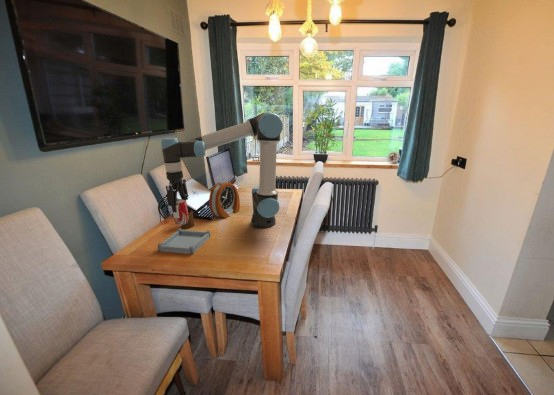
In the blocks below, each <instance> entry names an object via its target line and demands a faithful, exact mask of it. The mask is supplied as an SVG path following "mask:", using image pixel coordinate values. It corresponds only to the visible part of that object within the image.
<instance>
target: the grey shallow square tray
mask: <svg viewBox="0 0 554 395" xmlns="http://www.w3.org/2000/svg"><path fill="white" fill-rule="evenodd" d="M210 238H211V231H210V230H206V231H202V230H188V229H187V230H186V229H182V228H178V229H177V231H175V233H173V234H172V235H170V236H169V237H168V238H166V239H165V240H164V241H162V242H158V244H157V248H158V252H165V253H173V254H175V253H176V254H186V255H194V254H195V253H196V252H197V251H198V250H199V249H200V248H201V247H202V246H203V245H204V244H205V243H206V242H207V241H208V240H209V239H210Z"/></svg>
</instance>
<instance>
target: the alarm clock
mask: <svg viewBox="0 0 554 395" xmlns="http://www.w3.org/2000/svg"><path fill="white" fill-rule="evenodd" d="M208 206H209V209H210V212H211V214H212V215H213V216H214V217H216V218H218V217H219V218H221V219H228V218H230V217H231V214H237V213H239V212H240V208H241V198H240V195H239V191H238V189H237V187H236V186H235V184H233V183H231V182H228V181H227V180H223V181H222V180H221V181H219V182H217V183H215V184H214V185H213V187H212V188H211V190H210V193H209V199H208Z"/></svg>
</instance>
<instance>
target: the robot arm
mask: <svg viewBox="0 0 554 395" xmlns="http://www.w3.org/2000/svg"><path fill="white" fill-rule="evenodd" d="M283 128H284V124H283V120H282V118H281V117H280V116H279V115H278V114H276V113H275V112H271V111H269V112H262V113H260V114H257V115H256V116H253V117H251V118H249V119H246V121H245V122H242V123H239V124H236V125H231V126H229V127H225V128H223V129H222V128H221V129H220V130H216V131H213V132H210V133H207V134H203V135H201V136H197V137H195V138H194V137H193V138H191V139H189V140H188V141H179V139H178V138H177V137H165V138H162V139H161V141H160V144H161V152H162V158H163V163H164V169H165V171H166V172H165V174H166V179H167V180H168V181H169V184H168V185H165V190H166V198H167V205H168V206H169V207H171V211H172V214H173V215H172V216H173V219H174V218H180V217H179V211H178V205H176V202H177V200H178V197H177V196H178V195H179V196H180V199H184V200H185V202H186V204H188V203H187V201H188V199H189V192H188V187H187V182H186V179H185V178H184V172H183V166H182V160H181V159H185V158H200V157H205V156H206V151H208V150H210V149H213V148H217V147H220V146H224V145H225V144H226V145H227V144H229V143H232V142H236V141H238V140H242V139H245V138H247V137H248V138H249V137H252V138H255V137H257V138H256V140H257V142H259V182H258V183H259V186H255V187H253V188H251V198H252V215H251V219H250V224H251V226H252V227H253V228H257V229H266V228H270V227H273V226H275V225H276V223H277V221H276V215H277V214H278V212H280V203H279V200H278V199H279V191H278V190H277V189H276V180H277V179H276V177H277V152H278V151H277V149H278V148H277V147H278V146H277V145H278V143H280V142H281V134H282V131H283Z"/></svg>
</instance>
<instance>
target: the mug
mask: <svg viewBox="0 0 554 395" xmlns="http://www.w3.org/2000/svg"><path fill="white" fill-rule="evenodd" d="M188 216H189V221H188V222H187V223H186V224H183V225H180V226H181V229H191V228H193V227H194V226H195V219H194V218H195V217H194V212H193V210H192V209H188ZM173 220H174V219H173ZM174 222H175V220H174Z"/></svg>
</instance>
